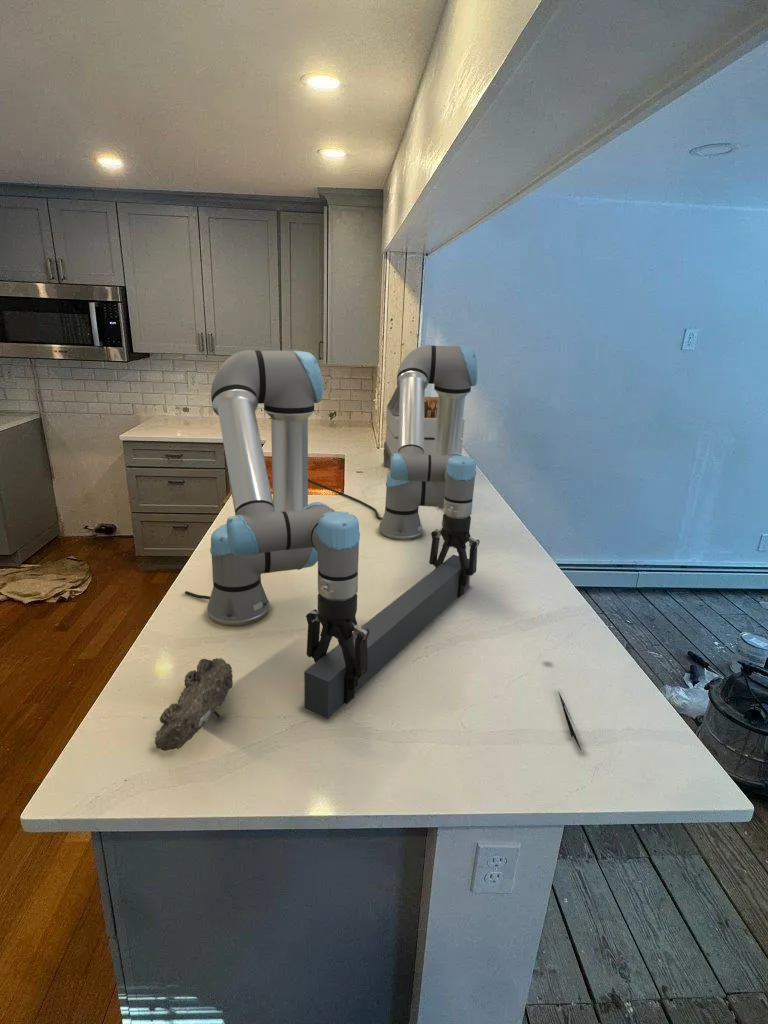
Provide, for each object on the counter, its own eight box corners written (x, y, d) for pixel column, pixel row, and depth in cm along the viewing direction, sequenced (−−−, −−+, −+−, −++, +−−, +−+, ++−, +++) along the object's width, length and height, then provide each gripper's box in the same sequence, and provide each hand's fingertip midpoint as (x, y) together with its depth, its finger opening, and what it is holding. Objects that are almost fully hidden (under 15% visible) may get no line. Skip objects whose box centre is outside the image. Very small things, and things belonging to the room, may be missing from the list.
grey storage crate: (382, 463, 289) (386, 382, 275) (445, 464, 293) (451, 384, 279) (390, 482, 257) (394, 392, 243) (460, 483, 261) (468, 394, 247)
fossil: (182, 659, 118) (233, 627, 113) (214, 689, 120) (265, 659, 115) (130, 744, 98) (189, 710, 93) (170, 778, 101) (229, 746, 96)
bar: (450, 581, 166) (453, 554, 164) (468, 586, 164) (471, 559, 161) (304, 708, 111) (304, 671, 109) (327, 719, 109) (328, 681, 106)
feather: (547, 667, 130) (553, 661, 129) (581, 755, 103) (588, 747, 102) (541, 664, 129) (547, 657, 129) (573, 750, 103) (580, 743, 102)
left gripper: (286, 586, 109) (288, 687, 117) (368, 616, 100) (364, 722, 108) (310, 572, 115) (310, 669, 123) (390, 599, 106) (384, 701, 114)
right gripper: (419, 510, 153) (414, 587, 161) (484, 526, 144) (476, 606, 152) (432, 503, 159) (426, 578, 167) (495, 518, 150) (486, 595, 158)
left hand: (335, 694), depth 115 cm, fingers closed on bar, 6 cm apart
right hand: (450, 591), depth 160 cm, fingers closed on bar, 6 cm apart
